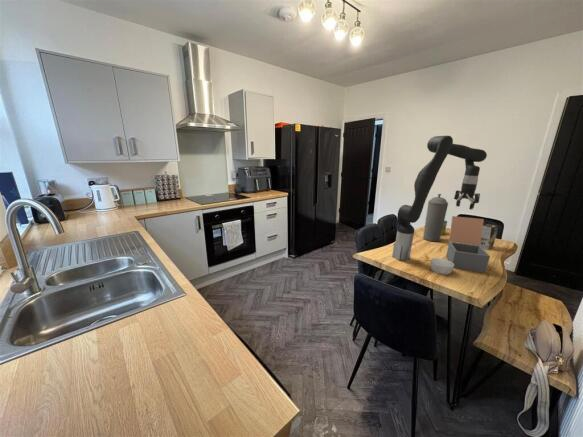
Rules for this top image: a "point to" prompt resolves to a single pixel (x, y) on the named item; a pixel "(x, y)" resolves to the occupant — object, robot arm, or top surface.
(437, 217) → the canister
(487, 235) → the coffee box
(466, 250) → the box
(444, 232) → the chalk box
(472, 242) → the lid
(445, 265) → the ramekin
